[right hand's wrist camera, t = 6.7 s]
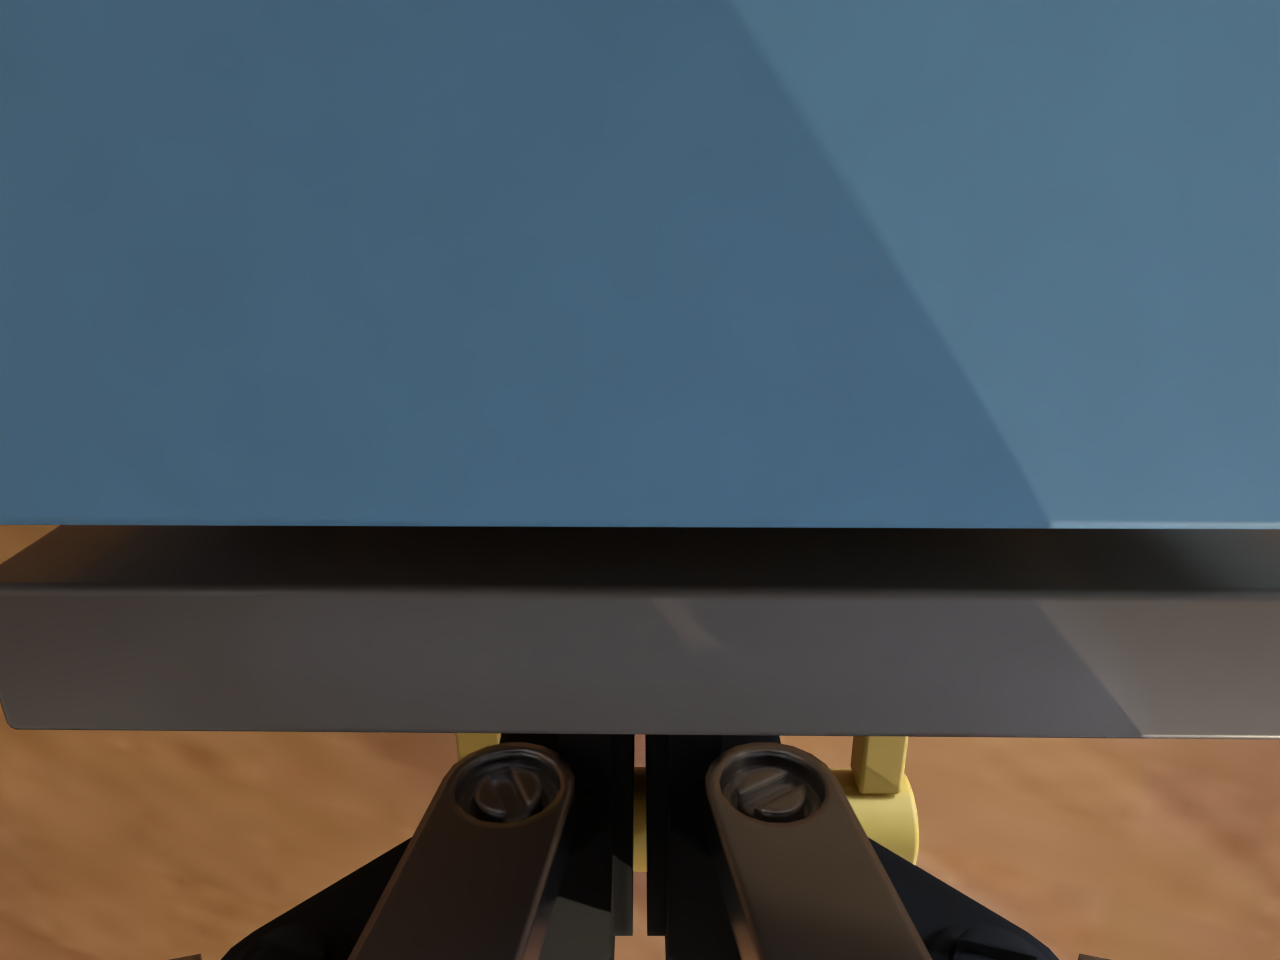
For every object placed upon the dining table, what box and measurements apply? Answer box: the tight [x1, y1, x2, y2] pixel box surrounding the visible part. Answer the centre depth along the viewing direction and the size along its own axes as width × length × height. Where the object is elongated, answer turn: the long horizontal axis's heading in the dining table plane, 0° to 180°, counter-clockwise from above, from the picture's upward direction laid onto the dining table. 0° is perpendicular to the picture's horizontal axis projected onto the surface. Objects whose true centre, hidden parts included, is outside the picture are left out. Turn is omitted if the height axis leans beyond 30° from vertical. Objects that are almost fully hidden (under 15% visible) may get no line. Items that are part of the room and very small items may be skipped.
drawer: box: [0, 525, 1280, 872], centre depth 9 cm, size 20×10×10 cm, turn 0°
